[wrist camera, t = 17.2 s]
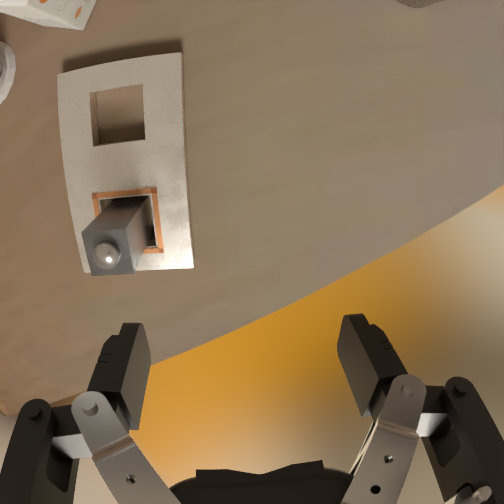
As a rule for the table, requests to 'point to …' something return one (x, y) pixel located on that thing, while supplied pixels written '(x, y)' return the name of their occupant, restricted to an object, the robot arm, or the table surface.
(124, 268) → the block with round knob
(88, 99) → the rail plate
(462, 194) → the table surface
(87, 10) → the small box
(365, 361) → the robot arm
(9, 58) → the french press
